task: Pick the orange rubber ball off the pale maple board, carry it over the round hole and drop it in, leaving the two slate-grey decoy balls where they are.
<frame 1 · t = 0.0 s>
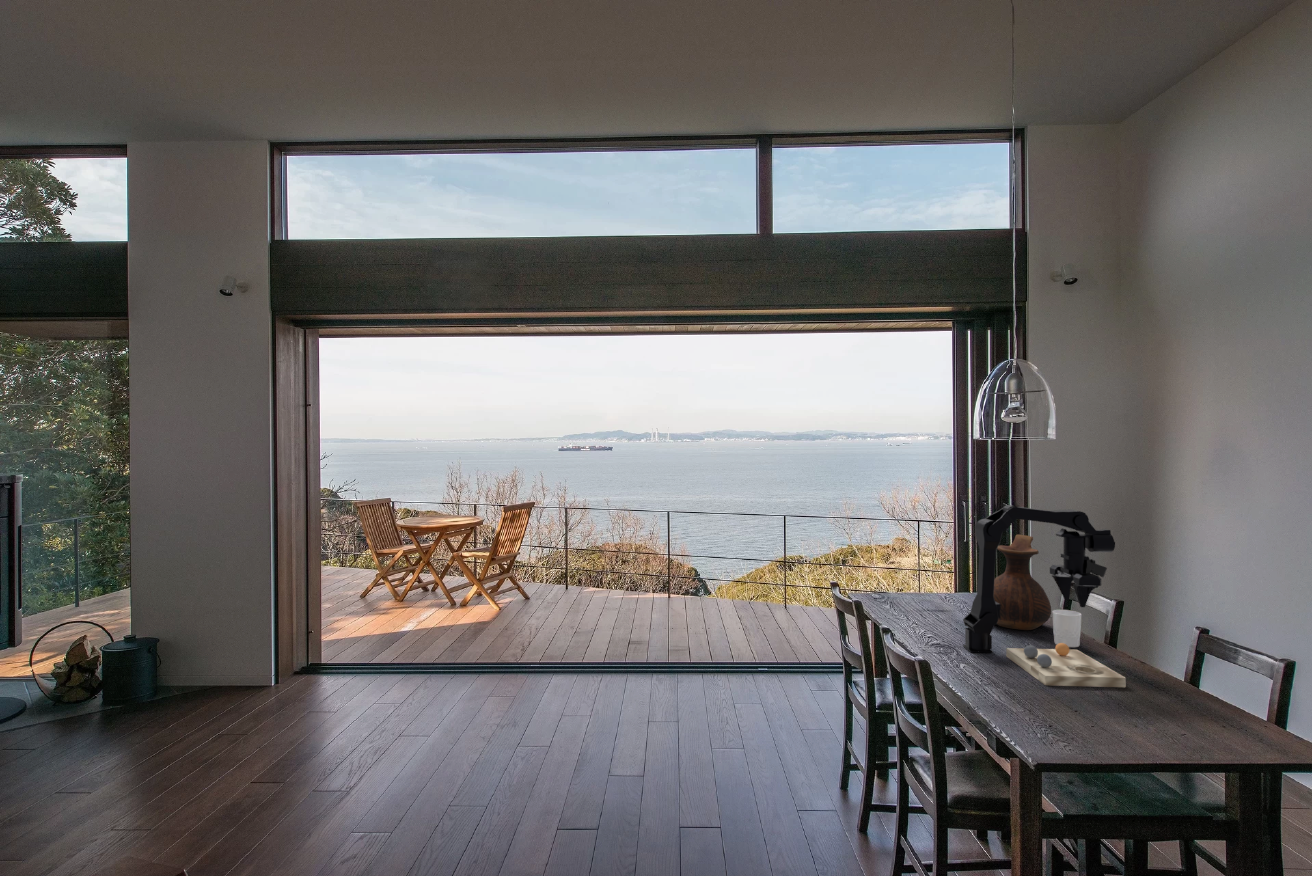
hand: (1074, 603, 210), 15 cm above the table, fingers open, 9 cm apart
board: (1062, 670, 193), on the table
decoy b: (1044, 660, 188), point 4 cm above the table, touching board
ball: (1062, 649, 199), point 4 cm above the table, touching board
jug: (1016, 625, 240), on the table
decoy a: (1030, 651, 196), point 4 cm above the table, touching board
white cup: (1066, 645, 218), on the table
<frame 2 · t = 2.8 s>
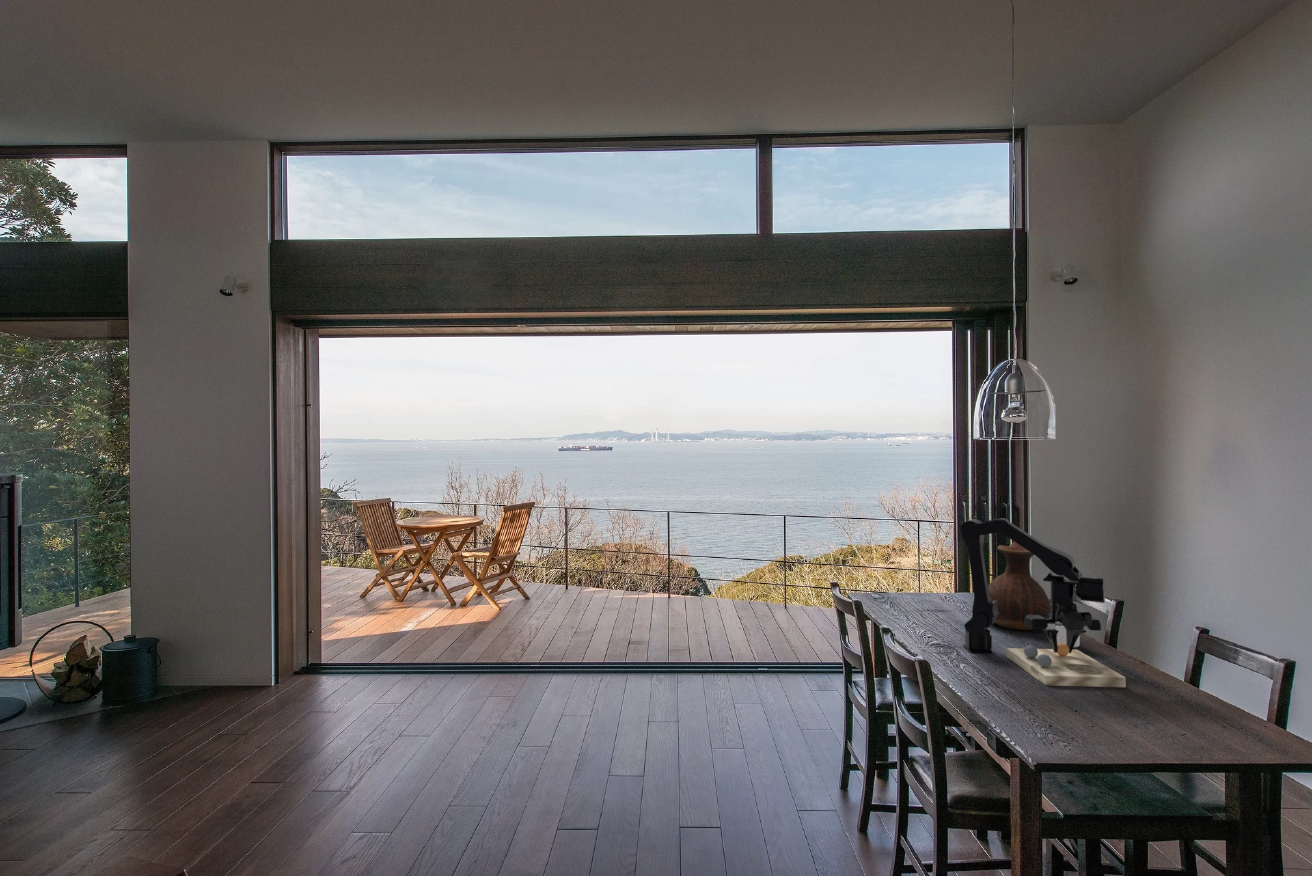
hand: (1062, 652, 199), 3 cm above the table, fingers closed on ball, 3 cm apart
ball: (1062, 649, 199), point 4 cm above the table, touching board, gripper
everything else where it was.
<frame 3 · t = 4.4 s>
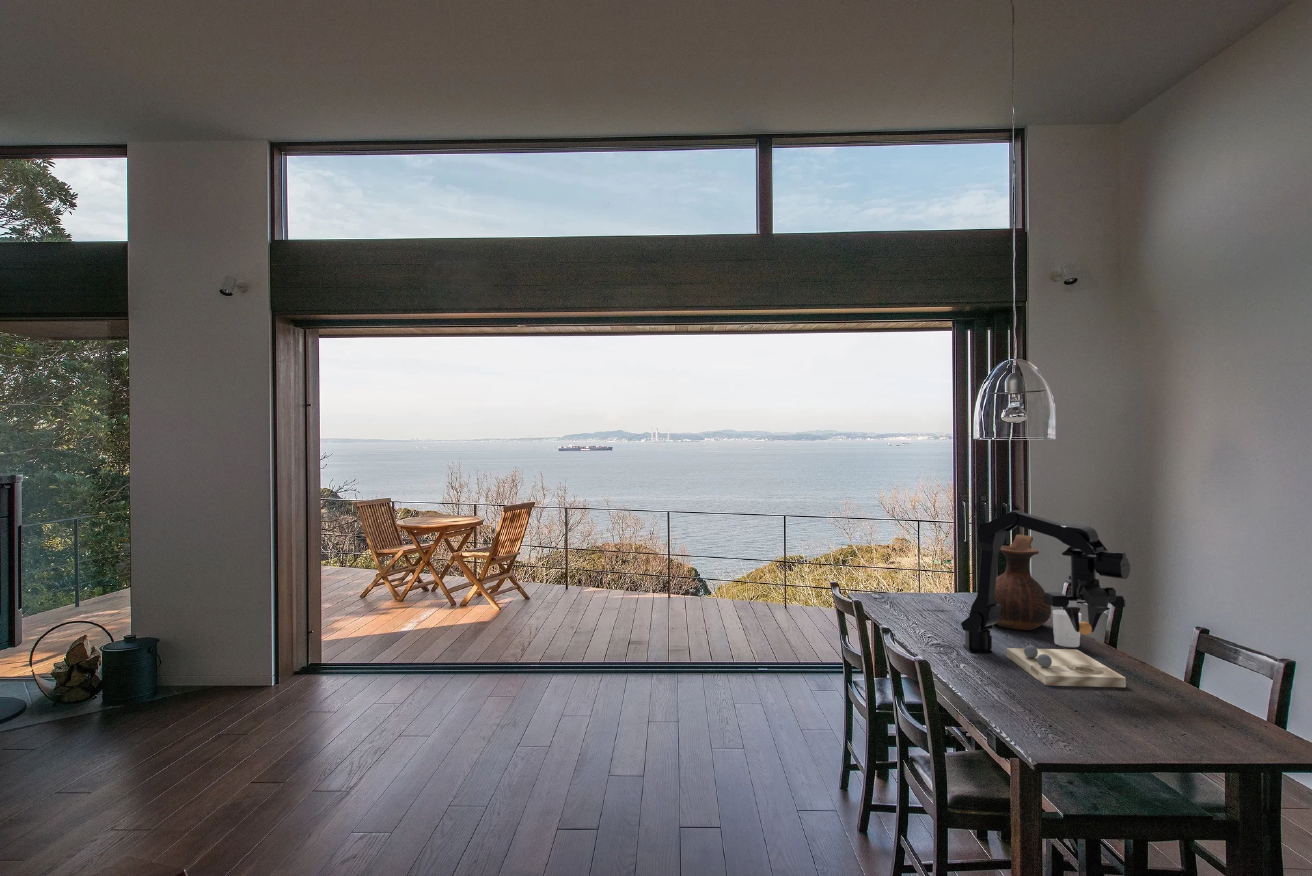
hand: (1084, 631, 187), 12 cm above the table, fingers closed on ball, 3 cm apart
ball: (1084, 628, 188), point 13 cm above the table, touching gripper
everything else where it was.
when the fingers open (4 cm above the table, at t = 6.1 s): ball drops 3 cm, point 2 cm above the table.
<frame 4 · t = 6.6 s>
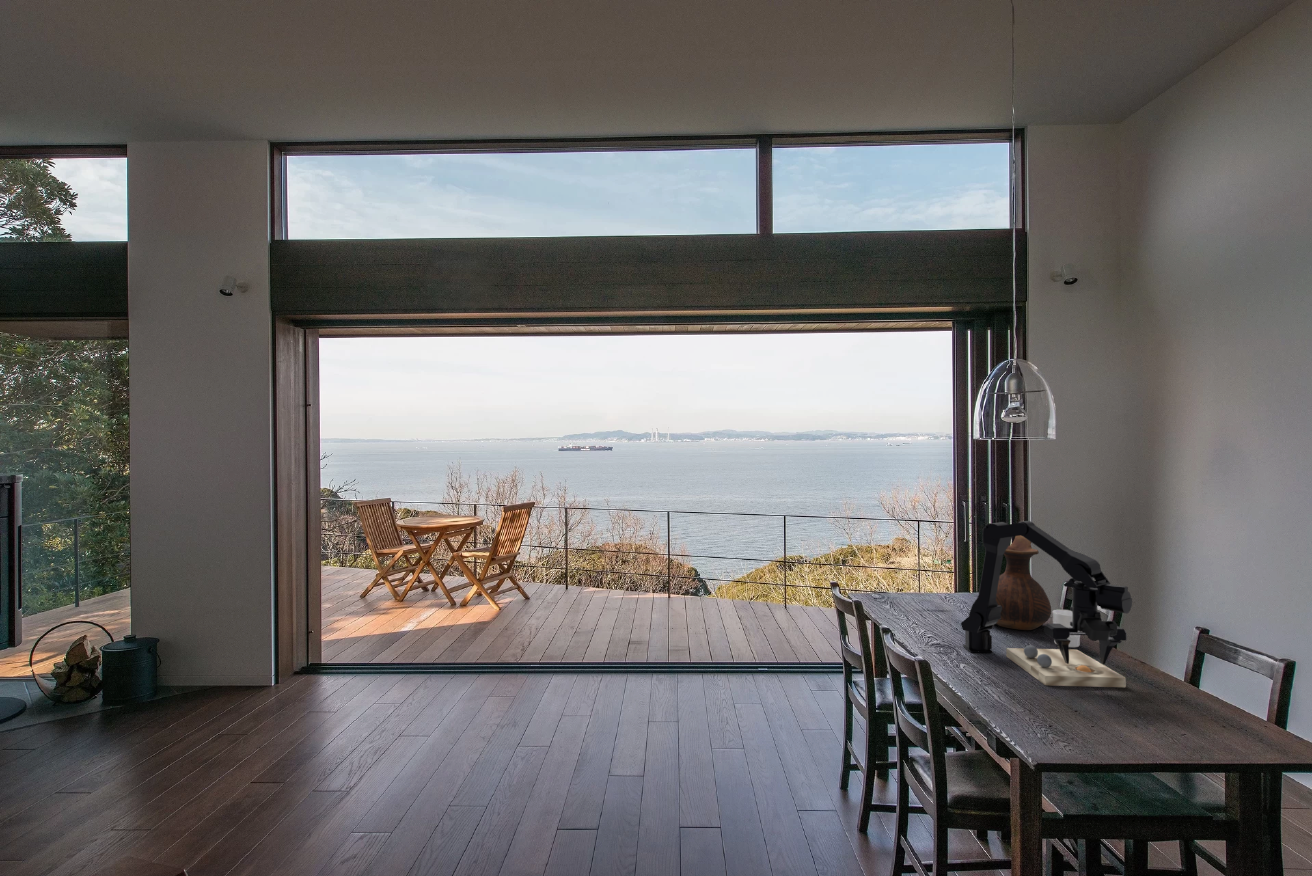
hand: (1084, 663, 187), 4 cm above the table, fingers open, 9 cm apart
ball: (1083, 672, 187), point 2 cm above the table, tilted 12°
everything else where it was.
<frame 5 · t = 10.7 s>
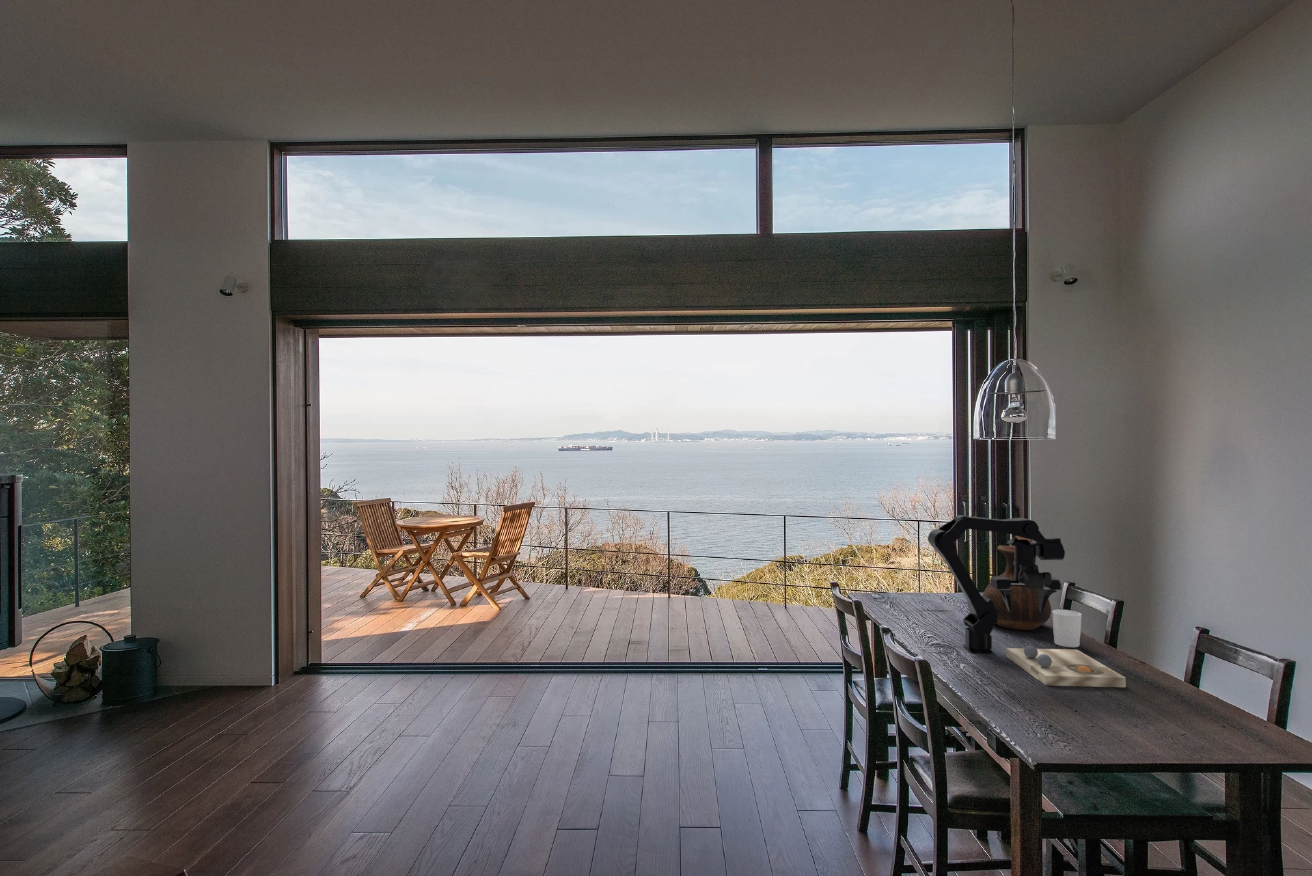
hand: (1025, 611, 211), 12 cm above the table, fingers open, 9 cm apart
nothing on the table moved.
at the end: ball 0.3 cm from the target spot in the board, point 1.7 cm above the board's base; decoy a moved 0.1 cm from its start; decoy b moved 0.1 cm from its start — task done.
